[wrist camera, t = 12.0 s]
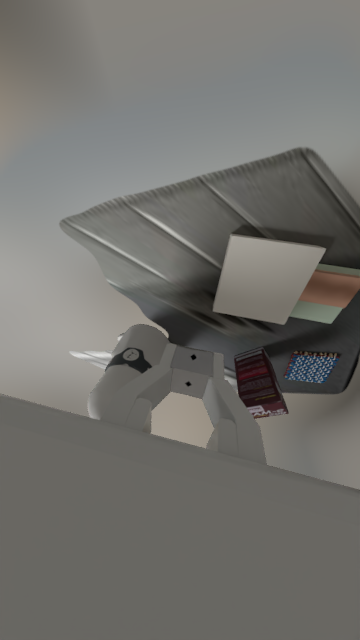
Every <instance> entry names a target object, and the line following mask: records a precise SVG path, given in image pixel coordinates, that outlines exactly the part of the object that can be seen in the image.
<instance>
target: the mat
mask: <svg viewBox="0 0 360 640" xmlns="http://www.w3.org/2000/svg"><path fill="white" fill-rule="evenodd" d="M316 269H317V270H324V271H330V272H337V273H344V274H350V275H357V276H360V270H359V269H353V268H346V267H339V266H332V265H326V264H319V263H318V265H317V267H316ZM342 309H343V308H341V307H335V306H329V305H323V304H318V303H312V302H306V301H300V300H298V301H297V303H296V305H295V306H294V308H293V310H292V312H291V314H290V315H289V316H290V317H296V318H301V319H307V320H313V321H318V322H324V323H329V324H331V323H332V322H333V321H334V319H335V318H336V317H337V315H338V314H339V313H340V311H341V310H342Z"/></svg>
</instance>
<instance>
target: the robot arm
mask: <svg viewBox="0 0 360 640" xmlns="http://www.w3.org/2000/svg"><path fill="white" fill-rule="evenodd" d="M111 356H112V360H111V361H110V362H109V364H108V365H107V367H106V369H105V374H104V375H103V376H102V378H101V379H100V380H99V382H98V383H97V385H96V387H95V388H94V389H93V391H92V392H91V393H90V395H89V398H88V402H87V408H88V413H89V416H90V418H89V417H86V416H82V415H78V414H74V413H71V412H67V411H63V410H59V409H56V408H52V407H48V406H44V405H41V404H37V403H33V402H30V401H26V400H22V399H18V398H15V397H11V396H7V395H4V394H0V640H360V490H358V489H355V488H351V487H347V486H344V485H340V484H336V483H332V482H329V481H325V480H321V479H317V478H314V477H310V476H306V475H302V474H299V473H295V472H291V471H287V470H284V469H280V468H276V467H273V466H269V465H267V463H266V458H265V452H264V447H263V441H262V436H261V430H260V426H259V425H258V423H257V422H256V420H255V419H254V418H253V416H252V415H251V413H250V412H249V410H248V409H247V408H246V406H245V405H244V403H243V402H242V401H241V399H240V398H239V396H238V395H237V393H236V392H235V391H234V389H233V388H232V386H231V385H230V383H229V382H228V381H227V380H224V356H223V354H220V353H214V352H209V351H204V350H199V349H194V348H190V347H185V346H181V345H176V344H172V343H170V342H169V340H168V339H167V337H166V336H165V335H164V334H163V333H162V332H161V331H159V330H158V329H157V328H155V327H152V326H149V325H144V324H139V325H134V326H132V327H130V328H129V329H128V330H127V331H126V332H125V333H123V334H120V335H119V336H118V344H117V346H116V347H115V349H114V351H113V352H112V354H111ZM170 391H171V392H176V393H180V394H185V395H189V396H193V397H196V398H200V399H202V400H203V403H204V405H205V408H206V410H207V412H208V415H209V417H210V420H211V422H212V424H213V427H214V431H213V433H212V435H211V437H210V439H209V441H208V443H207V448H206V449H205V448H202V447H198V446H194V445H190V444H187V443H183V442H179V441H176V440H171V439H168V438H164V437H161V436H156V435H153V434H150V433H151V411H152V410H153V409H154V408H155V407H156V406H157V405H158V404H159V403H160V402H161V401H162V400H163V399H164V398H165V397H166V396H167V395H168V394H169V393H170Z"/></svg>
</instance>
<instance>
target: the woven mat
mask: <svg viewBox="0 0 360 640" xmlns="http://www.w3.org/2000/svg"><path fill="white" fill-rule="evenodd" d="M326 354H327V353H324V354H322V353H319V354H318V355H317V353H314V354H312V353H310V352H309V354H308V352H304V353H303V354H302V351H300V353H298V352H297V351H295V352H294V353H293V355H291V356H292V357H291V360H290V362H289V363H288V365H289V366H288V368H287V370H286V371H287V372H285V373H286V374H285V375H284V376H285V379H291V380H295V379H296V380H297V381H299V380H302V381H308V382H310V381H311V382H312V381H314V382H315V383H316V382H320V383H321V382H322V383H324V382H325V381H326V379H327V378H328V376H329V374H330V373H331V370H332V369H333V368H334V366H335V365H336V362H337V360H339V357H338V356H336V355H337V353H335V354H334V355H333V354H328V355H326ZM334 360H335V361H334ZM293 361H294V362H293ZM334 364H335V365H334Z"/></svg>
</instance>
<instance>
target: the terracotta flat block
mask: <svg viewBox="0 0 360 640" xmlns="http://www.w3.org/2000/svg"><path fill="white" fill-rule="evenodd" d="M359 289H360V276H357V275H350V274H344V273H337V272H330V271H324V270H317V269H315V271H314V272H313V274H312V276H311V278H310V280H309V281H308V283H307V285H306V287H305V288H304V290H303V292H302V294H301V296H300V297H299V299H298V300H300V301H306V302H312V303H318V304H323V305H329V306H335V307H341V308H345V307H346V306H347V305H348V303H349V302H350V301H351V299H352V298H353V297H354V295H355V294H356V293H357V291H358V290H359Z"/></svg>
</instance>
